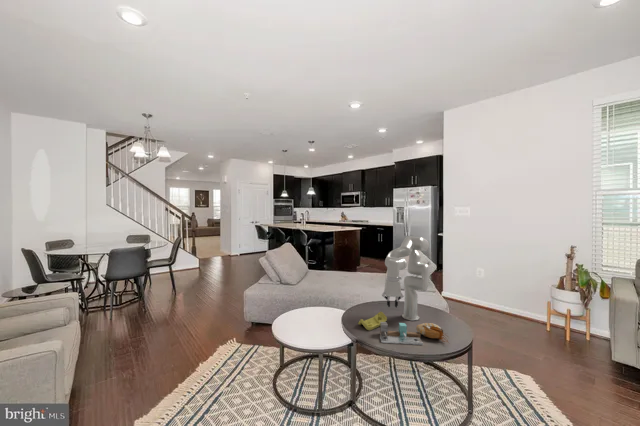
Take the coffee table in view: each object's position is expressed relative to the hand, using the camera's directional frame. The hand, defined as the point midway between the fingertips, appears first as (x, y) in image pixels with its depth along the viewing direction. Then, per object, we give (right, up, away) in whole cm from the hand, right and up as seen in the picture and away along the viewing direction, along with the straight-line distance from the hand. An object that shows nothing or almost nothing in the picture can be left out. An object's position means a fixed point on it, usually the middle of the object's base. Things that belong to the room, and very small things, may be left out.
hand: (392, 306), depth 176 cm
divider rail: (+5, -19, -3) cm, 20 cm away
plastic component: (-9, -19, +16) cm, 26 cm away
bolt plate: (+4, -19, -6) cm, 21 cm away
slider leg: (+6, -19, -3) cm, 20 cm away
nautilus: (+26, -20, -2) cm, 33 cm away
